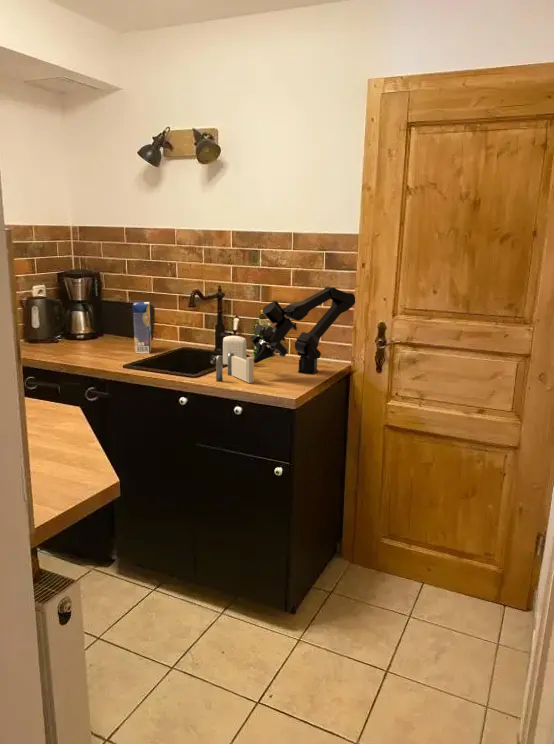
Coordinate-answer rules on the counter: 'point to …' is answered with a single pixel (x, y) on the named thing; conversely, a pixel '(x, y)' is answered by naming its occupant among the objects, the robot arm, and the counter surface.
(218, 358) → the post
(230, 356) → the hinge post
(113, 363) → the counter surface
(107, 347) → the counter surface
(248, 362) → the off-white flat slab
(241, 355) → the photo printer
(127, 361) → the counter surface
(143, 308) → the beverage box
